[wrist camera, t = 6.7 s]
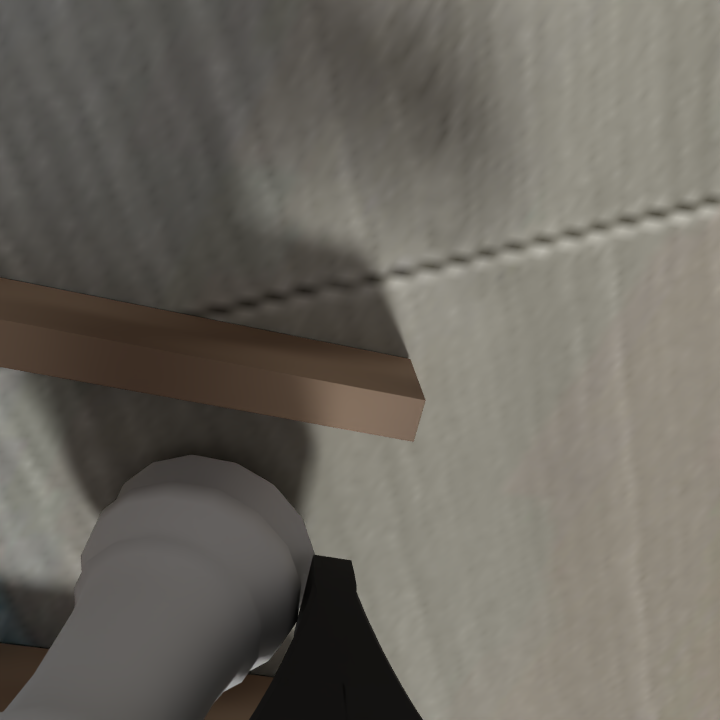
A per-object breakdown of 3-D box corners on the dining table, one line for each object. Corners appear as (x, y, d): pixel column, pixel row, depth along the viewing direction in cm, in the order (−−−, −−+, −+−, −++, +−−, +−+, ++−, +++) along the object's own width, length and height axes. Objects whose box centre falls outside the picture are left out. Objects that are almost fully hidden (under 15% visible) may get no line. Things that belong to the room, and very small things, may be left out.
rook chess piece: (104, 581, 14) (-328, 1100, 6) (140, 412, 12) (-374, 827, 5) (288, 651, 13) (80, 1268, 6) (347, 489, 12) (170, 1049, 4)
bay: (410, 359, 12) (425, 400, 10) (314, 706, 15) (313, 786, 13) (-57, 266, 11) (-137, 293, 9) (-53, 662, 14) (-112, 743, 12)
